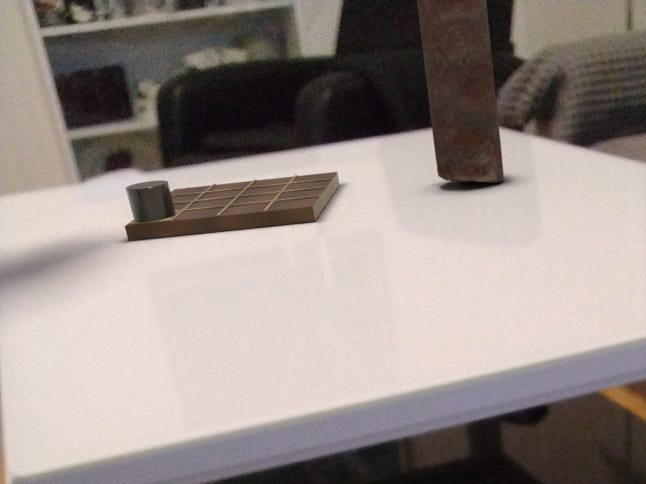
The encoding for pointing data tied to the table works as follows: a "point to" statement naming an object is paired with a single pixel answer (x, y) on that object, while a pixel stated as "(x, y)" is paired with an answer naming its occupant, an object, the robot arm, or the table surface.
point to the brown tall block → (461, 90)
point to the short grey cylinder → (151, 201)
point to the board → (241, 206)
